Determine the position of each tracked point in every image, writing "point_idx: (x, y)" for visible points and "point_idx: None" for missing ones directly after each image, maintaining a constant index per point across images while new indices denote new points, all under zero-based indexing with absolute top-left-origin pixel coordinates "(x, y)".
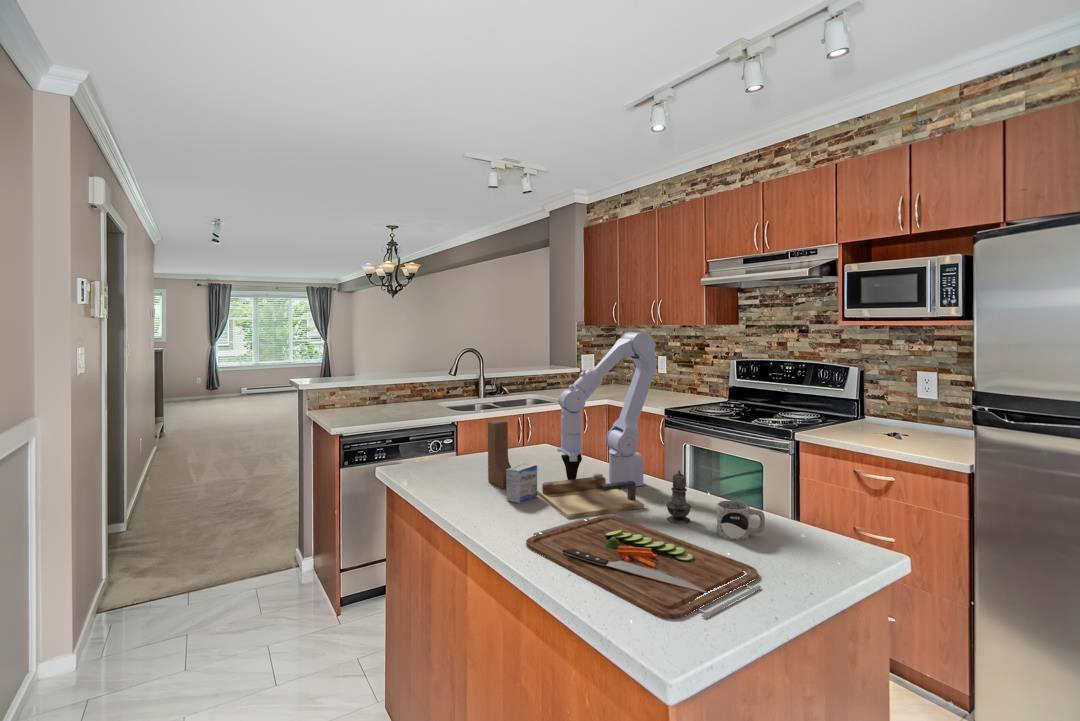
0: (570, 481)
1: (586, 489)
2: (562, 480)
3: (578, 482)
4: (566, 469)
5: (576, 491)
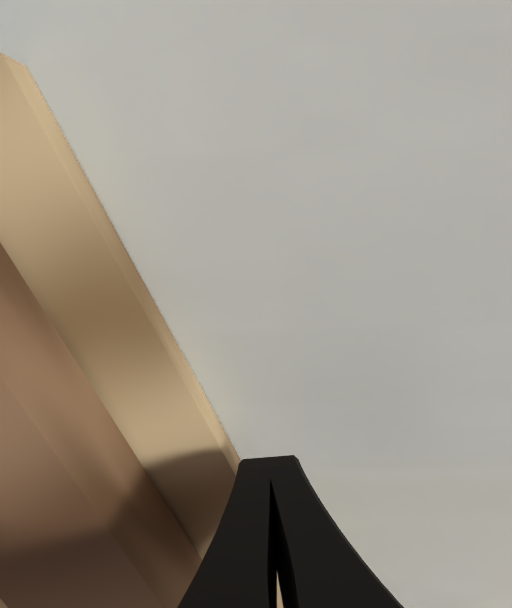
0: (16, 532)
1: None
2: (43, 439)
3: (12, 606)
4: (186, 596)
5: None
